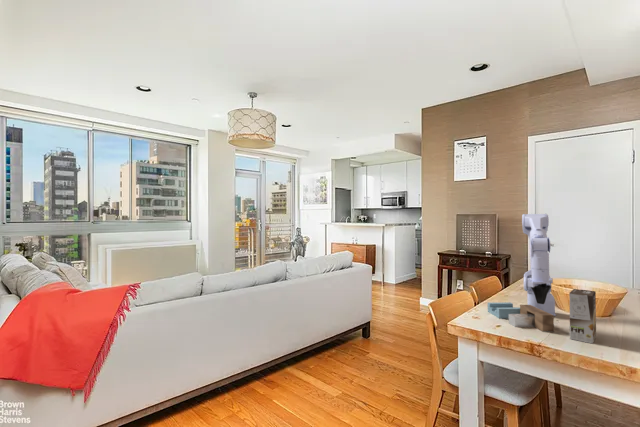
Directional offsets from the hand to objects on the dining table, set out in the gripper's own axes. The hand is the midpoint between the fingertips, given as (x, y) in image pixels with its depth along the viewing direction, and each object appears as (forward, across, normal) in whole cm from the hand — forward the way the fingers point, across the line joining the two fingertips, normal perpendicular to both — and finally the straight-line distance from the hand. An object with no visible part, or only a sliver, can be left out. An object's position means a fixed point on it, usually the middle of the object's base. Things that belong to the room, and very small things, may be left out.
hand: (540, 303), depth 126 cm
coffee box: (+9, +2, +14) cm, 17 cm away
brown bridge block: (+8, +2, -1) cm, 9 cm away
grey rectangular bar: (+7, +4, -3) cm, 9 cm away
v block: (+8, -1, -15) cm, 17 cm away
